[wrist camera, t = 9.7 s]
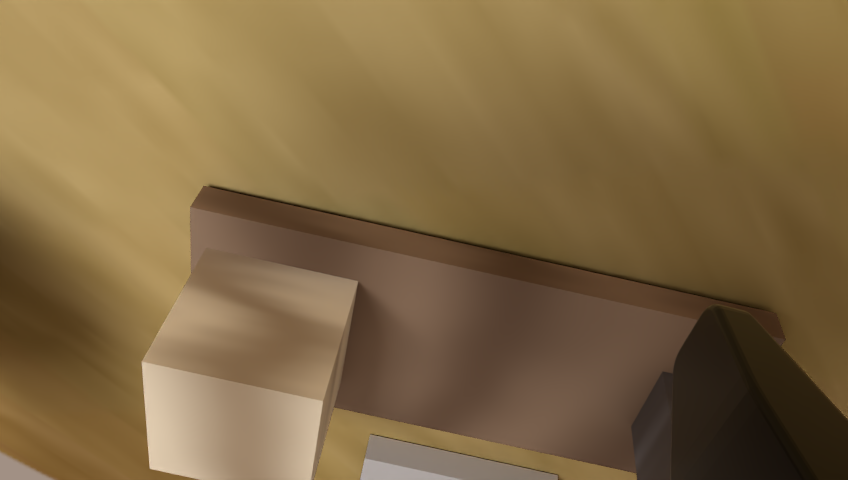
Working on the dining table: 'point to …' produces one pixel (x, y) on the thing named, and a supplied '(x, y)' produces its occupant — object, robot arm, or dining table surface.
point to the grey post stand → (484, 333)
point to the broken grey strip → (435, 464)
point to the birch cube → (246, 370)
